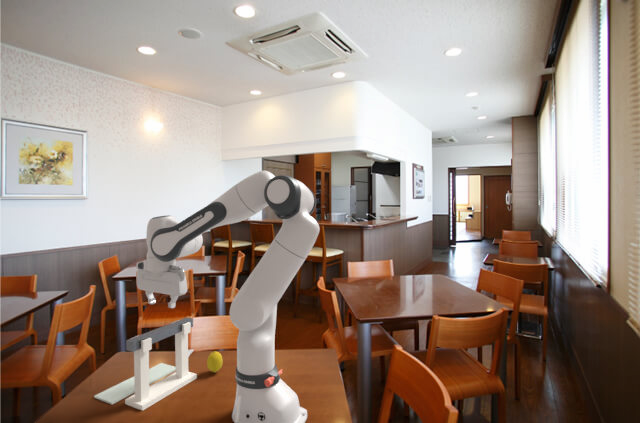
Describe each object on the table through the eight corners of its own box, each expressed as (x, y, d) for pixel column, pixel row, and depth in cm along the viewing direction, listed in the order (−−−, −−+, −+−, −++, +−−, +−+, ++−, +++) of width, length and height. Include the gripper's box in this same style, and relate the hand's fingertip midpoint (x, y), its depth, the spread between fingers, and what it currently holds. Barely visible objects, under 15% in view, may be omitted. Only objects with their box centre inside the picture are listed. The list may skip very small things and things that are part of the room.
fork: (194, 355, 153) (194, 348, 153) (183, 373, 132) (184, 365, 133) (187, 355, 152) (187, 349, 153) (176, 373, 132) (176, 366, 132)
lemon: (218, 376, 129) (218, 355, 128) (204, 375, 130) (204, 353, 130) (225, 369, 134) (225, 348, 134) (211, 368, 135) (211, 347, 135)
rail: (193, 326, 129) (193, 318, 129) (132, 351, 108) (132, 342, 108) (187, 325, 131) (186, 317, 130) (126, 350, 109) (126, 340, 109)
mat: (178, 369, 135) (178, 367, 135) (111, 404, 111) (111, 402, 111) (161, 364, 139) (161, 362, 139) (94, 397, 115) (94, 395, 115)
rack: (196, 378, 128) (196, 321, 127) (142, 410, 108) (141, 343, 107) (180, 373, 131) (179, 318, 131) (125, 404, 112) (123, 339, 111)
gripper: (191, 265, 117) (192, 307, 117) (148, 260, 126) (149, 299, 126) (176, 268, 111) (176, 312, 111) (132, 263, 120) (133, 304, 120)
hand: (161, 305), depth 119 cm, fingers open, 8 cm apart
